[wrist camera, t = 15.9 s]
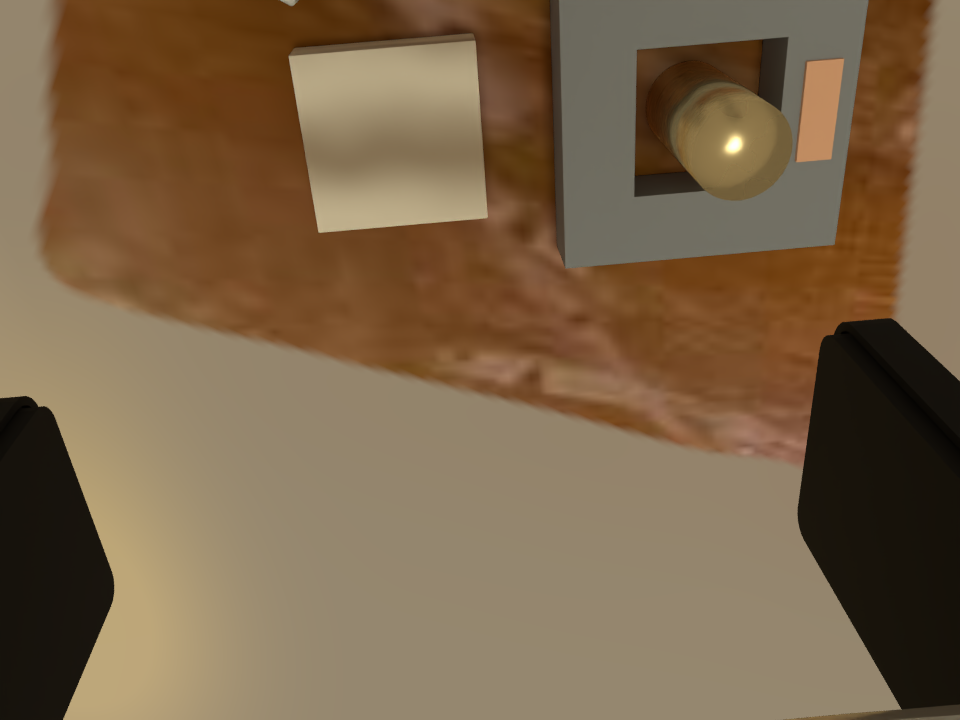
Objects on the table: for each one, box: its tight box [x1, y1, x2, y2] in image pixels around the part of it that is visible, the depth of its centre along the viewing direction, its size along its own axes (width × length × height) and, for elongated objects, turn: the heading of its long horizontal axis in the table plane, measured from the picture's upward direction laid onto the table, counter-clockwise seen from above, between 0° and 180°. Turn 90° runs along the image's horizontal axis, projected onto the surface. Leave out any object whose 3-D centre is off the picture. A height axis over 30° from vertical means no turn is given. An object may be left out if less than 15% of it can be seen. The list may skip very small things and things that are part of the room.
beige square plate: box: [289, 33, 488, 233], centre depth 40 cm, size 8×8×2 cm
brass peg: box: [646, 61, 793, 201], centre depth 38 cm, size 4×4×8 cm
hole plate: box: [550, 0, 868, 268], centre depth 40 cm, size 13×13×3 cm
